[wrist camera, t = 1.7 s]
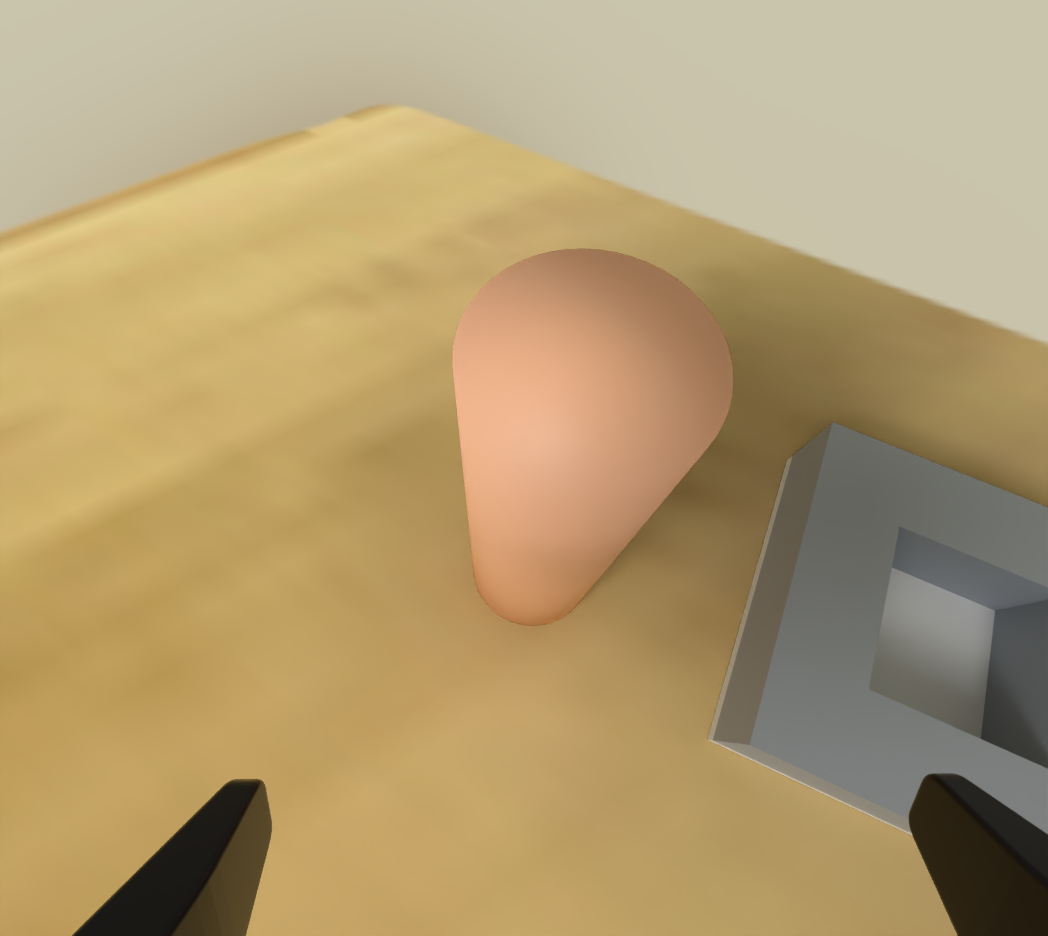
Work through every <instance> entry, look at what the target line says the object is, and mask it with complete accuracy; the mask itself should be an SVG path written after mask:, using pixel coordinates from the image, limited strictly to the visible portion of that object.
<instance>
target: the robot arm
mask: <svg viewBox="0 0 1048 936" xmlns="http://www.w3.org/2000/svg"><path fill="white" fill-rule="evenodd" d="M908 820H909V826H910V830H911V833H912V836H913V838H914V840H915V842H916V845H917V847H918V849H919V851H920V853H921V856H922V858H923V860H924V862H925V864H926V867H927V869H928V871H929V873H930V876H931V878H932V880H933V882H934V884H935V887H936V889H937V891H938V893H939V895H940V898H941V900H942V902H943V904H944V907H945V909H946V911H947V913H948V915H949V918H950V920H951V922H952V924H953V926H954V929H955V931H956V933H957V935H958V936H1048V834H1047V833H1045V832H1044V831H1042V830H1041V829H1040V828H1038V827H1037V826H1035V825H1034V824H1032V823H1031V822H1029V821H1028V820H1026V819H1025V818H1023V817H1022V816H1020V815H1019V814H1018V813H1016V812H1015V811H1013V810H1012V809H1010V808H1009V807H1007V806H1006V805H1004V804H1003V803H1001V802H1000V801H998V800H997V799H996V798H994V797H993V796H991V795H990V794H988V793H987V792H985V791H984V790H982V789H981V788H979V787H978V786H976V785H975V784H974V783H972V782H971V781H969V780H968V779H966V778H964V777H963V776H960V775H958V774H952V773H932V774H928V775H926V776H925V777H924V778H923V780H922V782H921V784H920V787H919V789H918V791H917V794H916V796H915V799H914V801H913V803H912V806H911V808H910V811H909V816H908ZM271 832H272V820H271V814H270V809H269V803H268V798H267V792H266V787H265V784H264V783H263V781H262V780H259V779H235V780H231V781H229V782H228V783H226V784H225V785H224V786H223V787H222V788H221V789H220V790H219V791H218V792H217V793H216V794H215V795H214V796H213V797H212V798H211V799H210V800H209V801H208V802H207V803H206V804H205V805H204V806H203V807H202V808H201V809H199V810H198V811H197V812H196V813H195V814H194V815H193V816H192V817H191V818H190V819H189V820H188V821H187V822H186V823H185V824H184V825H183V826H182V827H181V828H180V829H179V830H178V831H177V832H176V833H175V834H174V835H173V836H172V837H171V838H170V839H169V840H168V841H167V842H166V843H165V844H164V845H163V846H162V847H161V848H160V849H159V850H158V851H157V852H156V853H155V854H154V855H153V856H152V857H151V858H150V859H149V860H148V861H147V862H146V863H145V864H144V865H143V866H142V867H141V868H140V869H139V870H138V871H137V872H136V873H135V874H134V875H133V876H132V877H131V878H130V879H129V880H128V881H127V882H126V883H125V884H124V885H123V886H122V887H121V888H120V889H119V890H117V891H116V892H115V893H114V894H113V895H112V896H111V897H110V898H109V899H108V900H107V901H106V902H105V903H104V904H103V905H102V906H101V907H100V908H99V909H98V910H97V911H96V912H95V913H94V914H93V915H92V916H91V917H90V918H89V919H88V920H87V921H86V922H85V923H84V924H83V925H82V926H81V927H80V928H79V929H78V930H77V931H76V932H75V933H74V934H73V935H72V936H246V933H247V929H248V925H249V921H250V917H251V913H252V909H253V905H254V902H255V898H256V894H257V890H258V886H259V882H260V878H261V874H262V871H263V867H264V863H265V859H266V855H267V851H268V847H269V843H270V839H271Z"/></svg>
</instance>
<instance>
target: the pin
mask: <svg viewBox="0 0 1048 936" xmlns="http://www.w3.org/2000/svg"><path fill="white" fill-rule="evenodd" d="M452 364H453V376H454V386H455V396H456V406H457V415H458V425H459V435H460V445H461V455H462V464H463V474H464V484H465V494H466V503H467V513H468V523H469V533H470V542H471V552H472V562H473V572H474V578H475V583H476V586H477V588H478V591H479V593H480V595H481V597H482V598H483V600H484V601H485V602H486V604H487V605H488V606H489V607H490V608H491V609H492V610H493V611H494V612H496V613H497V614H498V615H500V616H501V617H503V618H504V619H507V620H509V621H511V622H514V623H517V624H521V625H529V626H537V625H544V624H548V623H552V622H554V621H557V620H559V619H561V618H562V617H564V616H566V615H567V614H568V613H569V612H571V611H572V610H573V609H574V608H575V607H576V606H577V605H578V603H579V602H580V601H581V600H582V599H583V597H584V596H585V595H586V594H587V592H588V591H589V590H590V589H591V588H592V586H593V585H594V584H595V583H596V582H597V580H598V579H599V578H600V577H601V576H602V574H603V573H604V572H605V571H606V570H607V568H608V567H609V566H610V565H611V564H612V562H613V561H614V560H615V559H616V558H617V556H618V555H619V554H620V553H621V552H622V550H623V549H624V548H625V547H626V546H627V544H628V543H629V542H630V541H631V540H632V538H633V537H634V536H635V535H636V534H637V532H638V531H639V530H640V529H641V528H642V526H643V525H644V524H645V523H646V522H647V520H648V519H649V518H650V517H651V516H652V514H653V513H654V512H655V511H656V510H657V508H658V507H659V506H660V505H661V504H662V502H663V501H664V500H665V499H666V497H667V496H668V495H669V494H670V493H671V491H672V490H673V489H674V488H675V487H676V485H677V484H678V483H679V482H680V481H681V479H682V478H683V477H684V476H685V475H686V473H687V472H688V471H689V470H690V469H691V467H692V466H693V465H694V464H695V463H696V461H697V460H698V459H699V458H700V457H701V455H702V454H703V453H704V452H705V451H706V449H707V448H708V447H709V446H710V444H711V443H712V442H713V440H714V439H715V438H716V436H717V435H718V433H719V431H720V429H721V427H722V426H723V424H724V422H725V420H726V417H727V414H728V411H729V408H730V405H731V400H732V394H733V374H734V373H733V366H732V359H731V355H730V351H729V348H728V344H727V341H726V339H725V337H724V335H723V332H722V330H721V328H720V326H719V324H718V323H717V321H716V320H715V318H714V316H713V315H712V313H711V312H710V311H709V309H708V308H707V307H706V306H705V304H704V303H703V302H702V301H701V300H700V299H699V298H698V297H697V296H696V295H695V294H694V293H693V292H692V291H691V290H690V289H689V288H688V287H687V286H685V285H684V284H683V283H682V282H680V281H679V280H678V279H676V278H675V277H673V276H672V275H670V274H669V273H667V272H665V271H664V270H662V269H660V268H658V267H656V266H654V265H652V264H650V263H648V262H645V261H643V260H640V259H637V258H635V257H632V256H628V255H624V254H621V253H617V252H611V251H605V250H598V249H565V250H558V251H552V252H547V253H543V254H539V255H536V256H532V257H530V258H527V259H525V260H522V261H520V262H518V263H516V264H514V265H512V266H510V267H508V268H506V269H505V270H503V271H502V272H500V273H499V274H498V275H496V276H495V277H493V278H492V279H491V280H490V281H489V282H488V283H487V284H486V285H484V286H483V287H482V288H481V289H480V290H479V292H478V293H477V294H476V295H475V297H474V298H473V299H472V300H471V302H470V303H469V305H468V307H467V308H466V310H465V312H464V313H463V315H462V318H461V320H460V323H459V325H458V328H457V331H456V335H455V340H454V344H453V356H452Z"/></svg>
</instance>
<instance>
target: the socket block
mask: <svg viewBox="0 0 1048 936" xmlns="http://www.w3.org/2000/svg"><path fill="white" fill-rule="evenodd" d="M708 740H709V741H711V742H713V743H716V744H718V745H720V746H722V747H724V748H726V749H728V750H731V751H733V752H735V753H737V754H739V755H741V756H743V757H746V758H748V759H750V760H752V761H754V762H756V763H758V764H760V765H763V766H765V767H767V768H769V769H771V770H773V771H775V772H778V773H780V774H782V775H784V776H786V777H788V778H790V779H792V780H795V781H797V782H799V783H801V784H803V785H805V786H807V787H810V788H812V789H814V790H816V791H818V792H820V793H822V794H825V795H827V796H829V797H831V798H833V799H835V800H837V801H839V802H842V803H844V804H846V805H848V806H850V807H852V808H854V809H857V810H859V811H861V812H863V813H865V814H867V815H869V816H872V817H874V818H876V819H878V820H880V821H882V822H884V823H886V824H889V825H891V826H893V827H895V828H897V829H899V830H901V831H904V832H906V833H908V834H910V835H912V833H911V830H910V826H909V820H908V816H909V811H910V808H911V806H912V803H913V801H914V799H915V796H916V794H917V791H918V789H919V787H920V784H921V782H922V780H923V778H924V777H925V776H926V775H928V774H932V773H952V774H958V775H960V776H963V777H964V778H966V779H968V780H969V781H971V782H972V783H974V784H975V785H976V786H978V787H979V788H981V789H982V790H984V791H985V792H987V793H988V794H990V795H991V796H993V797H994V798H996V799H997V800H998V801H1000V802H1001V803H1003V804H1004V805H1006V806H1007V807H1009V808H1010V809H1012V810H1013V811H1015V812H1016V813H1018V814H1019V815H1020V816H1022V817H1023V818H1025V819H1026V820H1028V821H1029V822H1031V823H1032V824H1034V825H1035V826H1037V827H1038V828H1040V829H1041V830H1042V831H1044V832H1045V833H1047V834H1048V507H1046V506H1043V505H1041V504H1038V503H1036V502H1033V501H1031V500H1028V499H1026V498H1023V497H1021V496H1018V495H1016V494H1013V493H1010V492H1008V491H1005V490H1003V489H1000V488H998V487H995V486H993V485H990V484H988V483H985V482H983V481H980V480H978V479H975V478H973V477H970V476H968V475H965V474H963V473H960V472H958V471H955V470H952V469H950V468H947V467H945V466H942V465H940V464H937V463H935V462H932V461H930V460H927V459H925V458H922V457H920V456H917V455H915V454H912V453H910V452H907V451H905V450H902V449H900V448H897V447H894V446H892V445H889V444H887V443H884V442H882V441H879V440H877V439H874V438H872V437H869V436H867V435H864V434H862V433H859V432H857V431H854V430H852V429H849V428H847V427H844V426H842V425H839V424H837V423H834V422H832V423H831V424H830V425H828V426H827V427H826V428H825V429H824V430H822V431H821V432H820V433H819V434H818V435H817V436H815V437H814V438H813V439H812V440H811V441H809V442H808V443H807V444H806V445H805V446H804V447H802V448H801V449H800V450H799V451H798V452H796V453H795V454H794V455H793V456H792V457H790V458H789V459H788V460H787V462H786V466H785V469H784V473H783V476H782V480H781V483H780V487H779V490H778V494H777V497H776V501H775V504H774V508H773V511H772V515H771V518H770V522H769V525H768V529H767V532H766V536H765V539H764V543H763V546H762V550H761V553H760V557H759V560H758V564H757V567H756V571H755V574H754V578H753V581H752V585H751V589H750V592H749V596H748V599H747V603H746V606H745V610H744V613H743V617H742V620H741V624H740V627H739V631H738V634H737V638H736V641H735V645H734V648H733V652H732V655H731V659H730V662H729V666H728V669H727V673H726V676H725V680H724V683H723V687H722V690H721V694H720V697H719V701H718V704H717V708H716V711H715V715H714V718H713V722H712V725H711V729H710V732H709V736H708Z"/></svg>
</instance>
